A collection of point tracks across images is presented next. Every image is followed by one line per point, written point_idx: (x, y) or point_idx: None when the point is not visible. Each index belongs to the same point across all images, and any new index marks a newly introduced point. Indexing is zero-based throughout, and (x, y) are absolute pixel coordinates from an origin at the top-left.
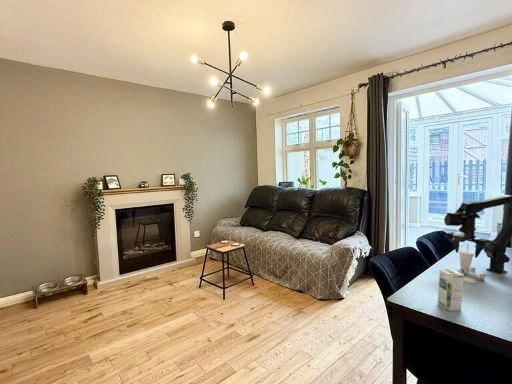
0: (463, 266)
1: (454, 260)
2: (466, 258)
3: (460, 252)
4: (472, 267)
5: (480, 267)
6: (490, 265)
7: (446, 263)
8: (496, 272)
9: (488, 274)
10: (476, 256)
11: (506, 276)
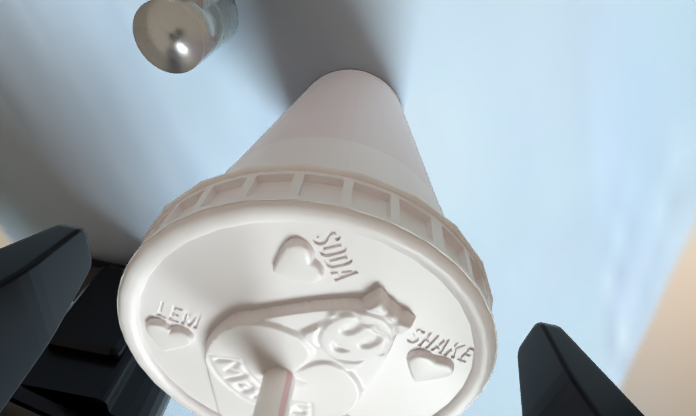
0: (349, 85)
1: None
2: (264, 146)
3: (422, 240)
4: (192, 66)
5: None
6: None
7: (611, 196)
8: (105, 265)
9: (111, 160)
10: (24, 244)
11: (11, 232)
